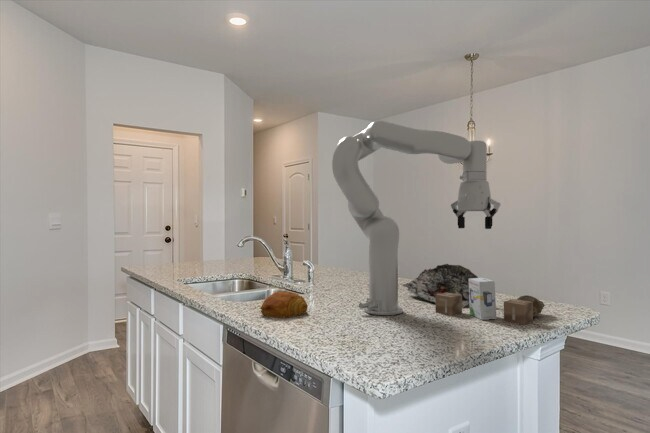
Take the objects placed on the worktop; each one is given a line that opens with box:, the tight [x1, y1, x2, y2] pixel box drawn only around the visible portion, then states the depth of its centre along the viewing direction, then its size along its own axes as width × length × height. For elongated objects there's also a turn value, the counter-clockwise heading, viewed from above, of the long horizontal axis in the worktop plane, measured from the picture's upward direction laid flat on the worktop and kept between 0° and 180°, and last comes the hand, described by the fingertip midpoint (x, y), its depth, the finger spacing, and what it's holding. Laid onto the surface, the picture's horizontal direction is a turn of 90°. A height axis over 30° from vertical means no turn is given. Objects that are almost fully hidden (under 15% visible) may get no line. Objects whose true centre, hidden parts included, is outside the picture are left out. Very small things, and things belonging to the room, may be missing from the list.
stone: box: [516, 294, 545, 317], centre depth 132 cm, size 13×8×8 cm
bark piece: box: [401, 263, 479, 309], centre depth 158 cm, size 19×8×30 cm
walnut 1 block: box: [503, 298, 534, 326], centre depth 125 cm, size 6×6×6 cm
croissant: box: [259, 290, 309, 318], centre depth 137 cm, size 14×16×8 cm
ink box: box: [468, 277, 497, 321], centre depth 131 cm, size 9×5×12 cm, turn 5°
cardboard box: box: [435, 292, 463, 317], centre depth 136 cm, size 6×6×6 cm
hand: (474, 228), depth 141 cm, fingers open, 9 cm apart
